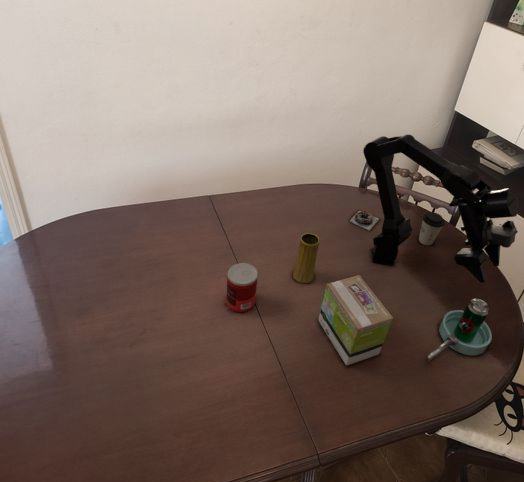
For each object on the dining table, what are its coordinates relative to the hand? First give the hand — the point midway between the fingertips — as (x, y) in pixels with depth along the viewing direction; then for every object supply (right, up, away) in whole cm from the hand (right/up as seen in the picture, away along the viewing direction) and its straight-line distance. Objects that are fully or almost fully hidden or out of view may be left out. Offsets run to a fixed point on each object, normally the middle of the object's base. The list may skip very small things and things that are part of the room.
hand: (489, 274), depth 120 cm
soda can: (-7, -17, +1) cm, 18 cm away
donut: (-24, +14, +39) cm, 48 cm away
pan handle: (-15, -18, -6) cm, 25 cm away
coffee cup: (-5, +7, +33) cm, 34 cm away
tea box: (-38, -16, -2) cm, 41 cm away
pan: (-7, -17, +2) cm, 18 cm away
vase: (-48, -2, +15) cm, 50 cm away
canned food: (-65, -8, +5) cm, 66 cm away
